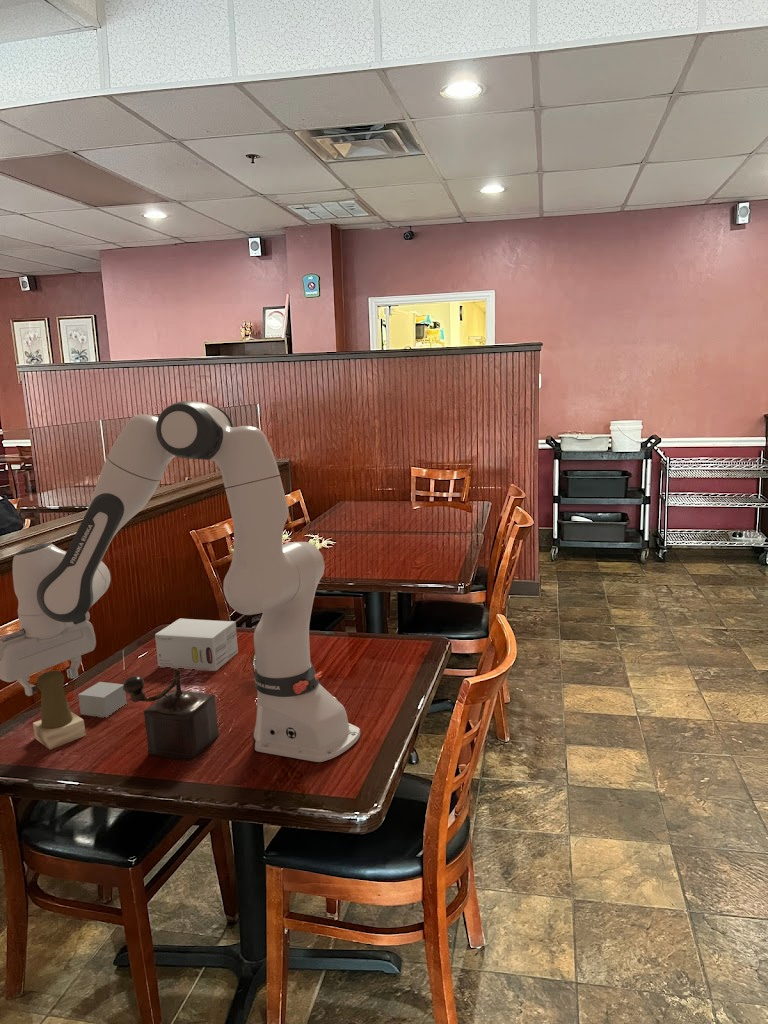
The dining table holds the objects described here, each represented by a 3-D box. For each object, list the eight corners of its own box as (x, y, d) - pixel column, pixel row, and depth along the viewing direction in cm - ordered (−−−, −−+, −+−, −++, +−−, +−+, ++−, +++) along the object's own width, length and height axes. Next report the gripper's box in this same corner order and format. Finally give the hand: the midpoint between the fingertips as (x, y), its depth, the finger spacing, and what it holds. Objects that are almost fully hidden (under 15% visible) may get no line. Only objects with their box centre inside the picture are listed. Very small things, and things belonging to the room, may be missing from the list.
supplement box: (157, 668, 187) (153, 634, 185) (183, 649, 199) (180, 617, 198) (216, 672, 183) (212, 637, 181) (238, 652, 195) (236, 619, 193)
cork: (78, 714, 154) (70, 666, 151) (63, 728, 148) (55, 679, 145) (51, 714, 154) (43, 667, 152) (35, 729, 148) (27, 679, 146)
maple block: (86, 737, 152) (83, 719, 151) (50, 751, 147) (47, 733, 146) (70, 726, 157) (68, 709, 156) (35, 740, 152) (32, 722, 151)
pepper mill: (174, 729, 153) (165, 649, 149) (220, 735, 149) (212, 653, 146) (127, 768, 138) (116, 680, 135) (177, 775, 135) (167, 685, 131)
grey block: (126, 704, 166) (124, 684, 165) (106, 718, 160) (103, 697, 159) (102, 701, 168) (99, 681, 168) (80, 715, 162) (78, 694, 161)
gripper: (2, 641, 137) (12, 708, 139) (96, 610, 154) (103, 670, 156) (-16, 636, 140) (-5, 702, 143) (78, 606, 157) (86, 665, 160)
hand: (52, 685), depth 150 cm, fingers open, 8 cm apart
